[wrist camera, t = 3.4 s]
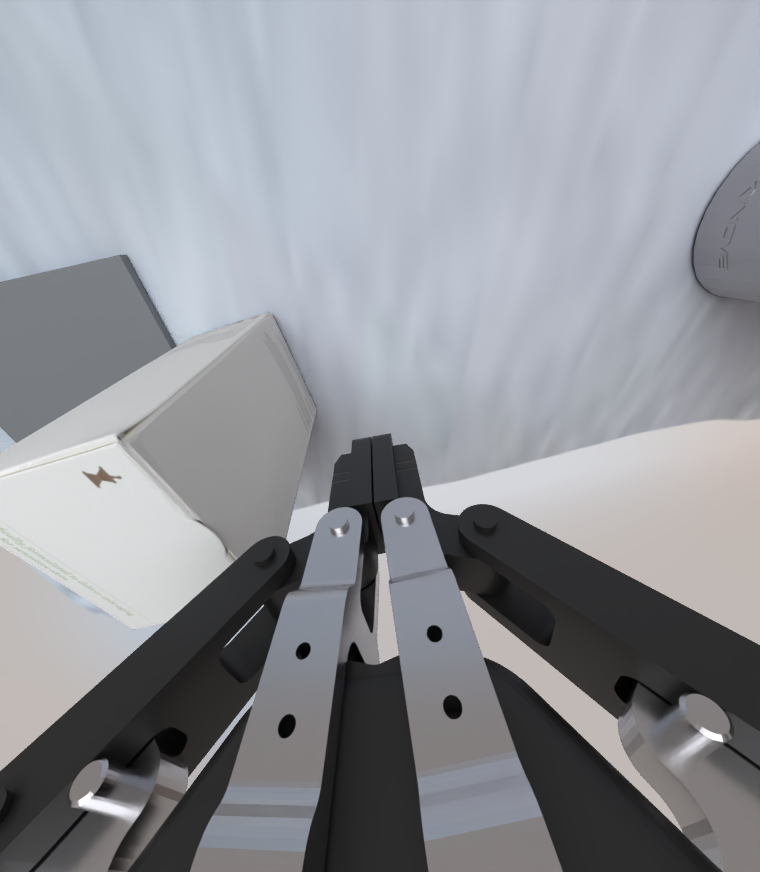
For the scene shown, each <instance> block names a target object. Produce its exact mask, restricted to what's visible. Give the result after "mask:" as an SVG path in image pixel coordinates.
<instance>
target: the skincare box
mask: <svg viewBox="0 0 760 872" xmlns="http://www.w3.org/2000/svg"><path fill="white" fill-rule="evenodd" d="M316 412H317V409H316V407H315V405H314V403H313V400H312V398H311V396H310V394H309V392H308V389H307V387H306V385H305V383H304V381H303V379H302V376H301V374H300V372H299V370H298V368H297V366H296V363H295V361H294V359H293V357H292V355H291V353H290V350H289V348H288V346H287V344H286V342H285V340H284V338H283V335H282V333H281V331H280V329H279V327H278V325H277V323H276V321H275V319H274V317H273V315H272V314H271V313H265V314H262V315H258V316H255V317H252V318H249V319H246V320H243V321H239V322H236V323H233V324H230V325H227V326H224V327H221V328H218V329H215V330H212V331H209V332H206V333H203V334H201V335H198V336H195V337H192V338H190V339H188V340H186V341H185V342H183V343H182V344H180V345H178V346H177V347H175V348H173V349H172V350H170V351H168V352H167V353H165V354H163V355H162V356H160V357H158V358H157V359H155V360H153V361H152V362H150V363H148V364H147V365H145V366H143V367H142V368H140V369H138V370H137V371H135V372H133V373H132V374H130V375H128V376H127V377H125V378H123V379H122V380H120V381H118V382H117V383H115V384H113V385H112V386H110V387H109V388H107V389H105V390H104V391H102V392H100V393H99V394H97V395H95V396H94V397H92V398H90V399H89V400H87V401H85V402H84V403H82V404H80V405H79V406H77V407H76V408H74V409H72V410H71V411H69V412H67V413H66V414H64V415H62V416H61V417H59V418H57V419H56V420H54V421H52V422H51V423H49V424H47V425H46V426H44V427H42V428H41V429H39V430H37V431H36V432H34V433H33V434H31V435H29V436H28V437H26V438H24V439H23V440H21V441H19V442H17V443H16V444H14V445H12V446H11V447H9V448H8V449H6V450H5V451H3V452H2V453H0V546H1V547H3V548H4V549H6V550H8V551H9V552H11V553H12V554H14V555H16V556H17V557H19V558H21V559H22V560H24V561H26V562H27V563H29V564H30V565H32V566H34V567H35V568H37V569H38V570H40V571H42V572H43V573H45V574H47V575H48V576H50V577H51V578H53V579H55V580H56V581H58V582H59V583H61V584H63V585H64V586H66V587H67V588H69V589H71V590H72V591H74V592H75V593H77V594H78V595H80V596H82V597H83V598H85V599H86V600H88V601H90V602H91V603H93V604H94V605H96V606H97V607H99V608H101V609H102V610H104V611H105V612H107V613H108V614H110V615H112V616H113V617H115V618H116V619H118V620H119V621H121V622H122V623H124V624H125V625H127V626H128V627H130V628H132V629H138V628H144V627H149V626H154V625H159V624H163V623H166V622H168V621H169V620H170V619H171V618H172V617H173V616H174V615H175V614H176V613H178V612H179V611H180V610H181V609H182V608H183V607H184V606H185V605H187V604H188V603H189V602H190V601H191V600H192V599H193V598H194V597H195V596H197V595H198V594H199V593H200V592H201V591H202V590H203V589H204V588H205V587H207V586H208V585H209V584H210V583H211V582H212V581H213V580H214V579H216V578H217V577H218V576H219V575H220V574H221V573H222V572H223V571H224V570H226V569H227V568H228V567H229V566H230V565H231V564H232V563H233V562H234V561H236V560H237V559H238V558H239V557H240V556H241V555H242V554H243V553H245V552H246V551H247V550H248V549H249V548H250V547H251V546H252V545H254V544H255V543H257V542H258V541H260V540H262V539H264V538H267V537H270V536H280V537H283V538H285V539H286V537H287V533H288V529H289V524H290V520H291V515H292V512H293V507H294V503H295V499H296V495H297V491H298V486H299V482H300V478H301V474H302V470H303V466H304V461H305V457H306V453H307V449H308V444H309V440H310V436H311V432H312V428H313V424H314V420H315V416H316Z"/></svg>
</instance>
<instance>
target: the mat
mask: <svg viewBox="0 0 760 872" xmlns="http://www.w3.org/2000/svg"><path fill="white" fill-rule="evenodd" d="M175 347H176V345H175V343H174V342H173V340H172V338H171V336H170V334H169V332H168V331H167V329H166V327H165V325H164V323H163V321H162V320H161V318H160V316H159V314H158V312H157V310H156V309H155V307H154V305H153V303H152V301H151V299H150V298H149V296H148V294H147V292H146V290H145V288H144V287H143V285H142V283H141V281H140V279H139V278H138V276H137V274H136V272H135V270H134V268H133V267H132V265H131V263H130V261H129V259H128V257H127V256H126V255H118V256H113V257H109V258H105V259H100V260H96V261H91V262H87V263H83V264H78V265H74V266H69V267H65V268H61V269H56V270H52V271H47V272H43V273H39V274H34V275H30V276H25V277H21V278H17V279H12V280H8V281H3V282H0V427H1V428H2V429H3V430H4V431H5V432H6V433H7V434H8V435H9V436H10V437H11V438H12V439H13V440H14V441H15V442H16V443H17V442H19V441H21V440H23V439H24V438H26V437H28V436H29V435H31V434H33V433H34V432H36V431H37V430H39V429H41V428H42V427H44V426H46V425H47V424H49V423H51V422H52V421H54V420H56V419H57V418H59V417H61V416H62V415H64V414H66V413H67V412H69V411H71V410H72V409H74V408H76V407H77V406H79V405H80V404H82V403H84V402H85V401H87V400H89V399H90V398H92V397H94V396H95V395H97V394H99V393H100V392H102V391H104V390H105V389H107V388H109V387H110V386H112V385H113V384H115V383H117V382H118V381H120V380H122V379H123V378H125V377H127V376H128V375H130V374H132V373H133V372H135V371H137V370H138V369H140V368H142V367H143V366H145V365H147V364H148V363H150V362H152V361H153V360H155V359H157V358H158V357H160V356H162V355H163V354H165V353H167V352H168V351H170V350H172V349H173V348H175Z"/></svg>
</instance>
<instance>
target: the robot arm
mask: <svg viewBox="0 0 760 872" xmlns="http://www.w3.org/2000/svg"><path fill="white" fill-rule="evenodd" d="M694 268H695V272H696V276H697V278H698V280H699V281H700V283H701V285H702V286H703V287H704V288H705V289H707V290H708V291H709V292H711V293H712V294H715V295H718V296H722V297H726V298H733V299H740V300H747V301H753V302H760V143H759V144H758V145H757V146H755V147H754V148H753V149H752V150H751V151H750V152H749V153H748V154H747V155H746V156H745V157H744V158H743V159H742V161H741V162H740V163H739V164H738V165H737V166H736V167H735V168H734V169H733V170H732V172H731V173H730V174H729V176H728V177H727V179H726V180H725V181H724V183H723V184H722V185H721V187H720V188H719V189H718V191H717V193H716V194H715V196H714V198H713V200H712V201H711V203H710V205H709V207H708V208H707V210H706V212H705V215H704V217H703V220H702V222H701V225H700V227H699V230H698V233H697V238H696V242H695V246H694ZM333 474H334V476H333V480H332V483H333V484H332V487H331V494H330V501H329V508H328V513H327V514H325V515H324V516H323V517H322V518H321V519H320V520H319V522H318V524H317V527H316V530H315V532H314V533H312V534H311V535H309V536H307V537H304V538H302V539H300V540H298V541H295V542H293V543H291V544H289V543H288V541H287V540H286V539H285V538H283V537H280V536H270V537H267V538H264V539H262V540H260V541H258V542H257V543H255V544H254V545H252V546H251V547H250V548H249V549H248V550H247V551H246V552H245V553H243V554H242V555H241V556H240V557H239V558H238V559H237V560H236V561H234V562H233V563H232V564H231V565H230V566H229V567H228V568H227V569H226V570H224V571H223V572H222V573H221V574H220V575H219V576H218V577H217V578H216V579H214V580H213V581H212V582H211V583H210V584H209V585H208V586H207V587H205V588H204V589H203V590H202V591H201V592H200V593H199V594H198V595H197V596H195V597H194V598H193V599H192V600H191V601H190V602H189V603H188V604H187V605H185V606H184V607H183V608H182V609H181V610H180V611H179V612H178V613H176V614H175V615H174V616H173V617H172V618H171V619H170V620H169V621H168V622H166V623H165V624H164V625H163V626H162V627H161V628H160V629H159V630H158V631H156V632H155V633H154V634H153V635H152V636H151V637H150V638H149V639H148V640H146V641H145V642H144V643H143V644H142V645H141V646H140V647H139V648H137V649H136V650H135V651H134V652H133V653H132V654H131V655H130V656H128V657H127V658H126V659H125V660H124V661H123V662H122V663H121V664H120V665H119V666H117V667H116V668H115V669H114V670H113V671H112V672H111V673H110V674H108V675H107V676H106V677H105V678H104V679H103V680H102V681H101V682H99V684H98V685H96V686H95V687H94V688H93V689H92V690H91V691H90V692H88V693H87V694H86V695H85V696H84V697H83V698H82V699H81V700H80V701H78V702H77V703H76V704H75V705H74V706H73V707H72V708H70V709H69V710H68V711H67V712H66V713H65V714H64V715H63V716H62V717H61V718H59V719H58V720H57V721H56V722H55V723H54V724H53V725H52V726H50V727H49V728H48V729H47V730H46V731H45V732H44V733H43V734H41V735H40V736H39V737H38V738H37V739H36V740H35V741H34V742H33V743H31V744H30V745H29V746H28V747H27V748H26V749H25V750H24V751H22V752H21V753H20V754H19V755H18V756H17V757H16V758H15V759H14V760H12V761H11V762H10V763H9V764H8V765H7V766H6V767H5V768H4V769H2V770H1V771H0V872H760V645H758V644H756V643H755V642H753V641H751V640H749V639H747V638H745V637H743V636H741V635H739V634H737V633H736V632H733V631H732V630H730V629H728V628H726V627H724V626H722V625H720V624H718V623H716V622H715V621H713V620H711V619H709V618H707V617H705V616H703V615H701V614H699V613H698V612H696V611H694V610H692V609H690V608H688V607H686V606H684V605H682V604H680V603H679V602H677V601H674V600H673V599H671V598H669V597H667V596H665V595H663V594H661V593H660V592H658V591H656V590H654V589H652V588H650V587H648V586H646V585H644V584H642V583H641V582H639V581H637V580H635V579H633V578H631V577H629V576H627V575H625V574H623V573H621V572H620V571H618V570H615V569H614V568H612V567H610V566H608V565H606V564H604V563H603V562H601V561H599V560H597V559H595V558H593V557H591V556H589V555H587V554H585V553H583V552H582V551H580V550H578V549H576V548H574V547H572V546H570V545H568V544H566V543H565V542H563V541H561V540H559V539H557V538H555V537H553V536H551V535H549V534H547V533H546V532H544V531H541V530H540V529H538V528H536V527H534V526H532V525H530V524H529V523H527V522H525V521H523V520H521V519H519V518H517V517H515V516H513V515H511V514H509V513H508V512H506V511H504V510H502V509H500V508H497V507H495V506H492V505H486V504H478V505H473V506H471V507H468V508H466V509H465V510H464V511H463V512H462V513H461V514H460V516H459V515H450V514H443V513H440V512H438V511H435V510H434V509H432V508H431V507H430V506H429V505H428V504H427V503H426V501H425V499H424V495H423V491H422V486H421V482H420V477H419V473H418V469H417V464H416V460H415V456H414V451H413V450H412V449H411V448H410V447H409V446H408V445H407V444H402V445H396V446H393V443H392V438H391V434H385V435H379V436H373V437H372V438H371V437H368V438H362V439H357V440H353V441H352V451H351V453H350V454H345V455H341V456H340V458H339V459H338V460H337V462H336V463H335V466H334V473H333ZM385 549H386V552H385ZM382 553H386V555H387V562H388V569H389V575H390V580H389V588H390V596H391V603H392V609H393V616H394V623H395V630H396V637H397V644H398V651H399V656H397V657H394V658H392V659H390V660H388V661H385V662H383V663H381V664H380V663H379V653H378V645H377V625H378V600H379V599H378V598H379V572H378V554H382ZM460 590H461V591H465V593H466V594H467V596H468V597H469V598H470V599H471V600H472V601H474V602H475V603H476V604H477V605H478V606H480V607H481V608H482V609H483V610H485V611H486V612H487V613H488V614H490V615H491V616H492V617H493V618H495V619H496V620H497V621H498V622H499V623H500V624H502V625H503V626H504V627H505V628H507V629H508V630H509V631H510V632H511V633H513V634H514V635H515V636H516V637H518V638H519V639H520V640H521V641H522V642H524V643H525V644H526V645H527V646H529V647H530V648H531V649H533V651H535V652H536V653H537V654H538V655H540V656H541V657H542V658H543V659H544V660H546V661H547V662H548V663H550V664H551V665H552V666H553V667H554V668H555V669H557V670H558V671H559V672H560V673H562V674H563V675H564V676H565V677H566V678H568V679H569V680H570V681H571V682H572V683H574V684H575V685H576V686H577V687H579V688H580V689H581V690H582V691H584V692H585V693H586V694H587V695H589V696H590V697H591V698H592V699H593V700H595V701H596V702H597V703H598V704H599V705H601V706H602V707H603V708H604V709H605V710H607V711H608V712H609V713H610V714H612V715H613V716H614V717H615V718H617V719H618V729H619V735H620V739H621V742H622V745H623V747H624V750H625V752H626V754H627V756H628V757H629V759H630V761H631V762H632V764H633V765H634V767H635V768H636V770H637V771H638V772H639V773H640V775H641V776H642V777H643V778H644V779H645V780H646V781H647V782H648V783H649V784H650V785H651V787H652V788H653V789H654V790H655V791H656V792H657V793H658V794H659V795H660V796H661V798H662V799H663V800H664V802H665V803H666V804H667V805H668V807H669V808H670V810H671V811H672V813H673V814H674V816H675V818H676V820H677V821H678V823H679V825H680V827H681V829H682V831H683V833H682V832H681V831H680V830H679V829H678V828H677V827H676V826H675V825H674V824H673V823H672V822H671V821H669V819H668V818H666V817H665V816H664V815H663V814H662V813H661V812H660V811H659V810H658V809H657V808H656V807H655V806H654V805H653V804H652V803H651V802H649V800H648V799H647V798H646V797H645V796H643V795H642V794H641V793H640V792H639V791H638V790H637V789H636V788H635V787H634V786H633V785H632V784H631V783H630V782H629V781H628V780H627V779H626V778H625V777H624V776H623V775H622V774H621V773H619V771H617V770H616V769H615V768H614V767H613V766H612V765H611V764H610V763H609V762H608V761H607V760H606V759H605V758H604V757H603V756H602V755H601V754H600V753H599V752H598V751H597V750H596V749H595V748H594V747H593V746H591V745H590V744H589V743H588V742H587V741H586V740H585V739H584V738H583V737H582V736H581V735H580V734H579V733H578V732H577V731H576V730H575V729H574V728H573V727H572V726H571V725H570V724H569V723H568V722H567V721H565V720H564V719H563V718H562V717H561V716H560V715H559V714H558V713H557V712H556V711H555V710H554V709H553V708H552V707H551V706H550V705H549V704H548V703H547V702H546V701H545V700H544V699H543V698H542V697H541V696H539V695H538V694H537V693H536V692H535V691H534V690H533V689H532V688H531V687H530V686H529V685H528V684H527V683H526V682H524V681H523V680H522V679H521V678H519V677H518V676H517V675H516V674H514V673H513V672H511V671H510V670H508V669H507V668H505V667H503V666H502V665H500V664H498V663H496V662H494V661H492V660H489V659H487V658H483V656H482V653H481V650H480V647H479V644H478V641H477V639H476V636H475V633H474V630H473V627H472V624H471V621H470V619H469V616H468V613H467V610H466V607H465V604H464V602H463V599H462V596H461V593H460ZM263 604H264V607H263V608H262V609H261V610H260V611H259V612H258V613H257V614H256V615H255V616H254V617H253V618H252V619H251V621H250V622H249V623H248V624H247V625H246V626H245V627H244V628H243V629H242V630H241V631H240V633H238V635H237V636H236V637H235V638H234V639H233V640H232V641H231V642H230V643H229V644H228V645H227V646H226V647H224V646H225V645H226V644H227V643H228V642H229V641H230V639H231V638H232V637H233V636H234V635H235V634H236V633H237V632H238V631H239V630H240V629H241V628H242V627H243V626H244V625H245V623H246V622H247V621H248V620H249V619H250V618H251V617H252V616H253V615H254V614H255V613H256V612H257V611H258V609H259V608H260V607H261V606H262V605H263ZM256 691H257V693H256V696H255V699H254V702H253V705H252V706H251V707H250V709H248V711H247V712H246V713H245V714H244V715H243V717H242V718H241V719H240V720H239V722H238V723H237V724H236V726H235V727H234V729H233V730H232V731H231V732H230V734H229V735H228V736H227V738H226V739H225V740H224V742H223V743H222V745H221V746H220V747H219V749H218V750H217V751H216V753H215V754H214V755H213V757H212V758H211V759H210V761H209V762H208V763H207V765H206V766H205V767H204V769H203V770H202V771H201V773H200V774H199V776H198V777H197V778H196V780H195V781H194V782H193V784H192V785H191V786H190V788H189V789H188V790H187V792H186V788H187V783H188V777H189V776H190V774H191V773H192V772H193V771H194V769H195V768H196V766H197V765H198V764H199V763H200V762H201V760H202V759H203V758H204V757H205V755H206V754H207V753H208V752H209V750H210V749H211V748H212V746H213V745H214V744H215V743H216V741H217V740H218V739H219V738H220V736H221V735H222V734H223V733H224V731H225V730H226V729H227V727H228V726H229V725H230V724H231V722H232V721H233V720H234V718H235V717H236V716H237V715H238V714H239V712H240V711H241V710H242V708H243V707H244V706H245V705H246V703H247V702H248V701H249V700H250V698H251V697H252V696H253V694H254V693H255V692H256Z"/></svg>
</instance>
